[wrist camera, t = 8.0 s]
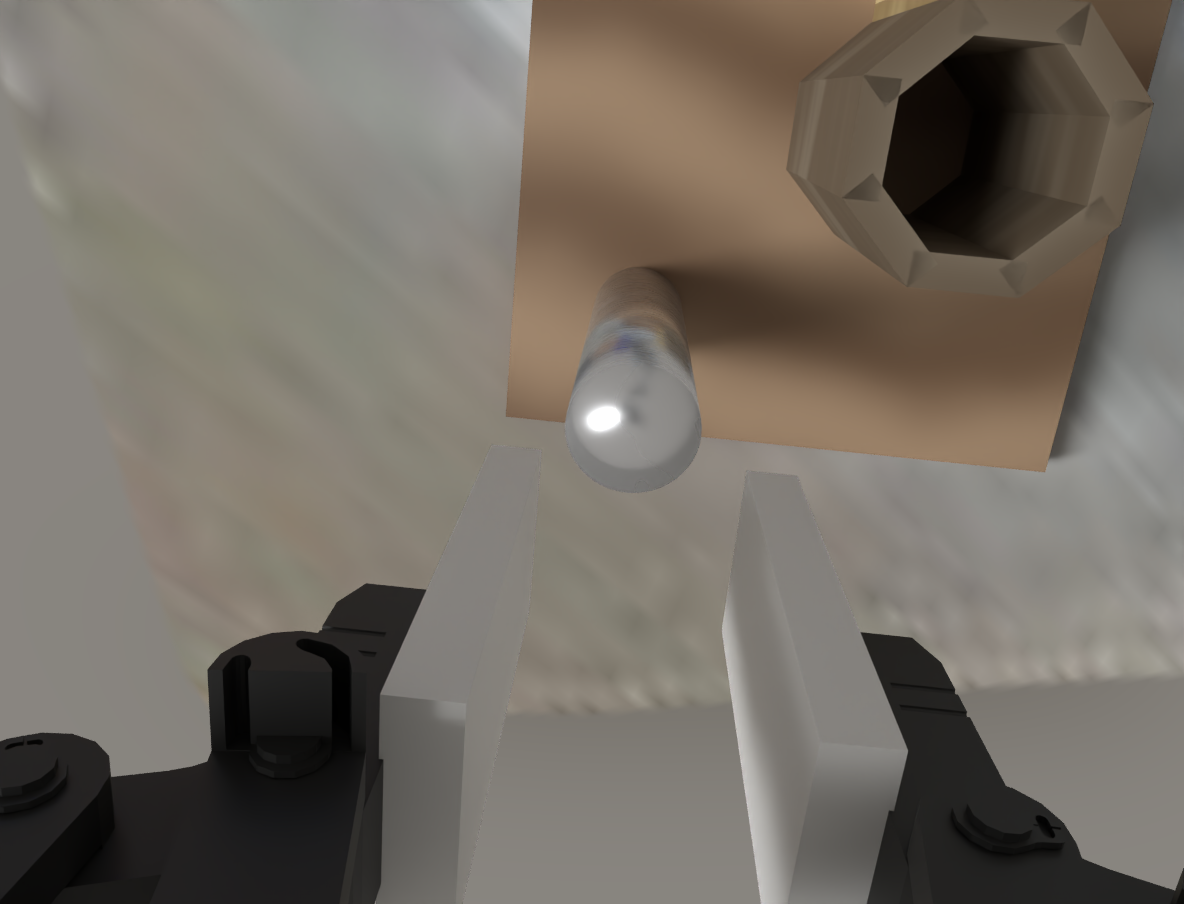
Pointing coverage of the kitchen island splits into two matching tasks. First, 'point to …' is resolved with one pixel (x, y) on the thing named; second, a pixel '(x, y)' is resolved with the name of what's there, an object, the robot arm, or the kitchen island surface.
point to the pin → (634, 387)
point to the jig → (835, 206)
